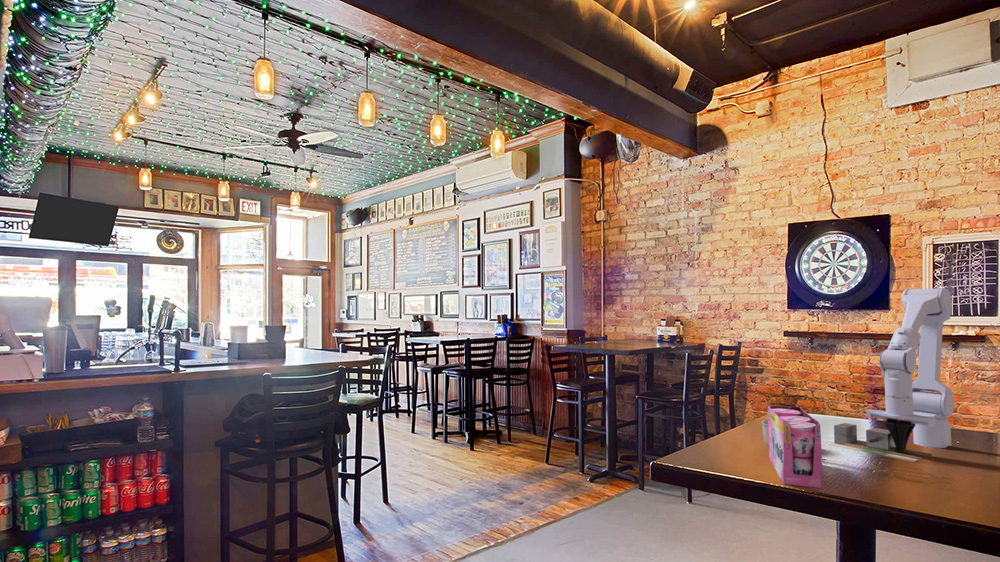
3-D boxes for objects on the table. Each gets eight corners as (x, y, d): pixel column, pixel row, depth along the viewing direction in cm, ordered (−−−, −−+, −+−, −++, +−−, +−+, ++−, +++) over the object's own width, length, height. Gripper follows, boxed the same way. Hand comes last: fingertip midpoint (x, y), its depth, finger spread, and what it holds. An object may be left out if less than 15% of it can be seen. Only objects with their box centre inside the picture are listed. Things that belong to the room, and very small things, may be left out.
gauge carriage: (875, 446, 144) (875, 427, 144) (897, 450, 140) (896, 431, 140) (860, 451, 139) (859, 431, 140) (882, 455, 135) (881, 435, 136)
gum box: (826, 491, 113) (824, 425, 113) (784, 487, 115) (782, 423, 116) (802, 461, 135) (801, 406, 136) (768, 458, 138) (766, 404, 139)
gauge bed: (845, 442, 154) (844, 420, 154) (939, 461, 135) (938, 436, 135) (823, 448, 147) (822, 425, 147) (918, 468, 129) (917, 442, 129)
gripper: (860, 394, 142) (862, 446, 141) (926, 402, 129) (928, 459, 129) (872, 391, 145) (874, 442, 145) (938, 399, 133) (940, 454, 132)
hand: (901, 450), depth 137 cm, fingers closed
